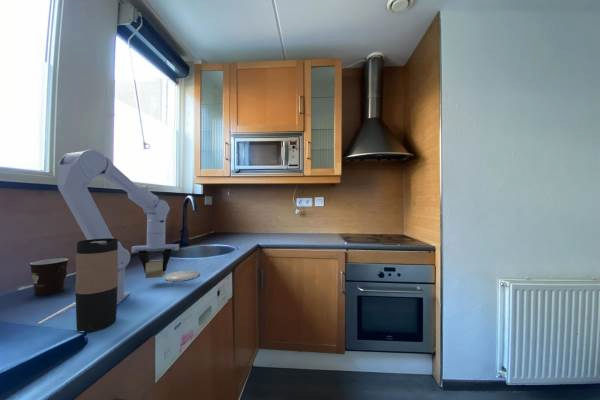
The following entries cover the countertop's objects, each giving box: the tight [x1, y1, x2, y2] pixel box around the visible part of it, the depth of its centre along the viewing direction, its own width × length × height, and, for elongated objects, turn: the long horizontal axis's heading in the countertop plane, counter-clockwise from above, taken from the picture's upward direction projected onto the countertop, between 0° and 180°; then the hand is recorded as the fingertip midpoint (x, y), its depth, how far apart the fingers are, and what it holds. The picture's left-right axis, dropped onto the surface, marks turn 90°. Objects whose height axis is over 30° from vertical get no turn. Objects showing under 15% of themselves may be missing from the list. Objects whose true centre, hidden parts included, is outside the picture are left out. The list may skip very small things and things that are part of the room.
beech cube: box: [144, 259, 166, 279], centre depth 86 cm, size 5×5×5 cm
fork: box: [38, 301, 76, 324], centre depth 68 cm, size 3×20×2 cm, turn 6°
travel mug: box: [75, 237, 119, 334], centre depth 57 cm, size 8×8×20 cm
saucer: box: [164, 269, 200, 282], centre depth 95 cm, size 12×12×1 cm
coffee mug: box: [29, 257, 69, 297], centre depth 78 cm, size 12×9×10 cm
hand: (155, 271), depth 86 cm, fingers closed on beech cube, 5 cm apart
